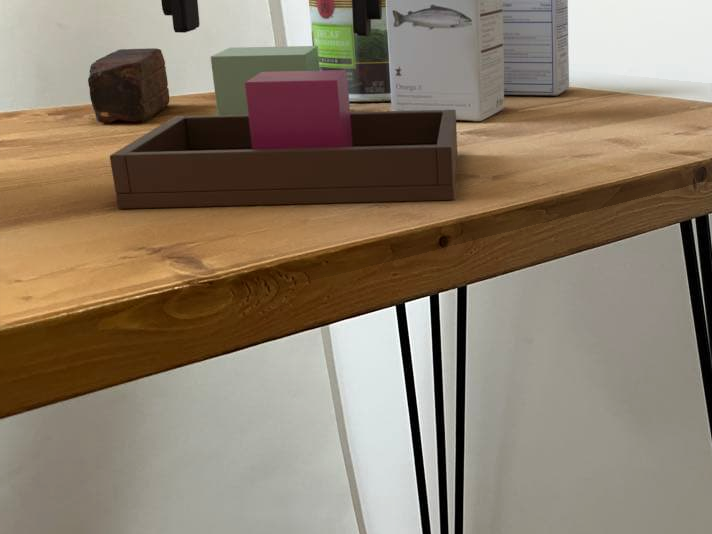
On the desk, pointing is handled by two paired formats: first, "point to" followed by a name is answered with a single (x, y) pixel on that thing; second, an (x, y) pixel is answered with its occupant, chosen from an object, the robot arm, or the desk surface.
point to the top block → (299, 109)
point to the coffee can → (352, 49)
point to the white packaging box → (446, 56)
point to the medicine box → (535, 47)
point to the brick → (129, 85)
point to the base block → (254, 71)
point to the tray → (288, 163)
